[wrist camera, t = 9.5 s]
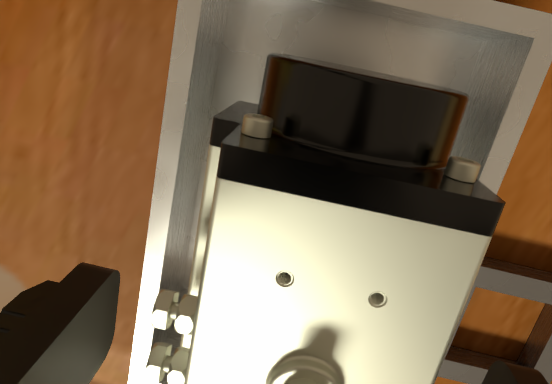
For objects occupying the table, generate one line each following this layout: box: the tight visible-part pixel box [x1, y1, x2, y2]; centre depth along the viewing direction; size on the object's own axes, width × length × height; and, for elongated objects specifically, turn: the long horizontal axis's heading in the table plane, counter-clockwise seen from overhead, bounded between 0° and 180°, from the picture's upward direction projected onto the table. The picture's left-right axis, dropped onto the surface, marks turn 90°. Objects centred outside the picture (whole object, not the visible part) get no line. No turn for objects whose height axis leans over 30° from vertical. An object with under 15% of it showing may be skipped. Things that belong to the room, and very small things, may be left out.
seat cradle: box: [128, 0, 552, 384], centre depth 17 cm, size 17×11×5 cm, turn 168°
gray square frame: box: [437, 257, 552, 384], centre depth 20 cm, size 6×6×1 cm
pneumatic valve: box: [144, 53, 506, 384], centre depth 13 cm, size 6×12×12 cm, turn 169°
